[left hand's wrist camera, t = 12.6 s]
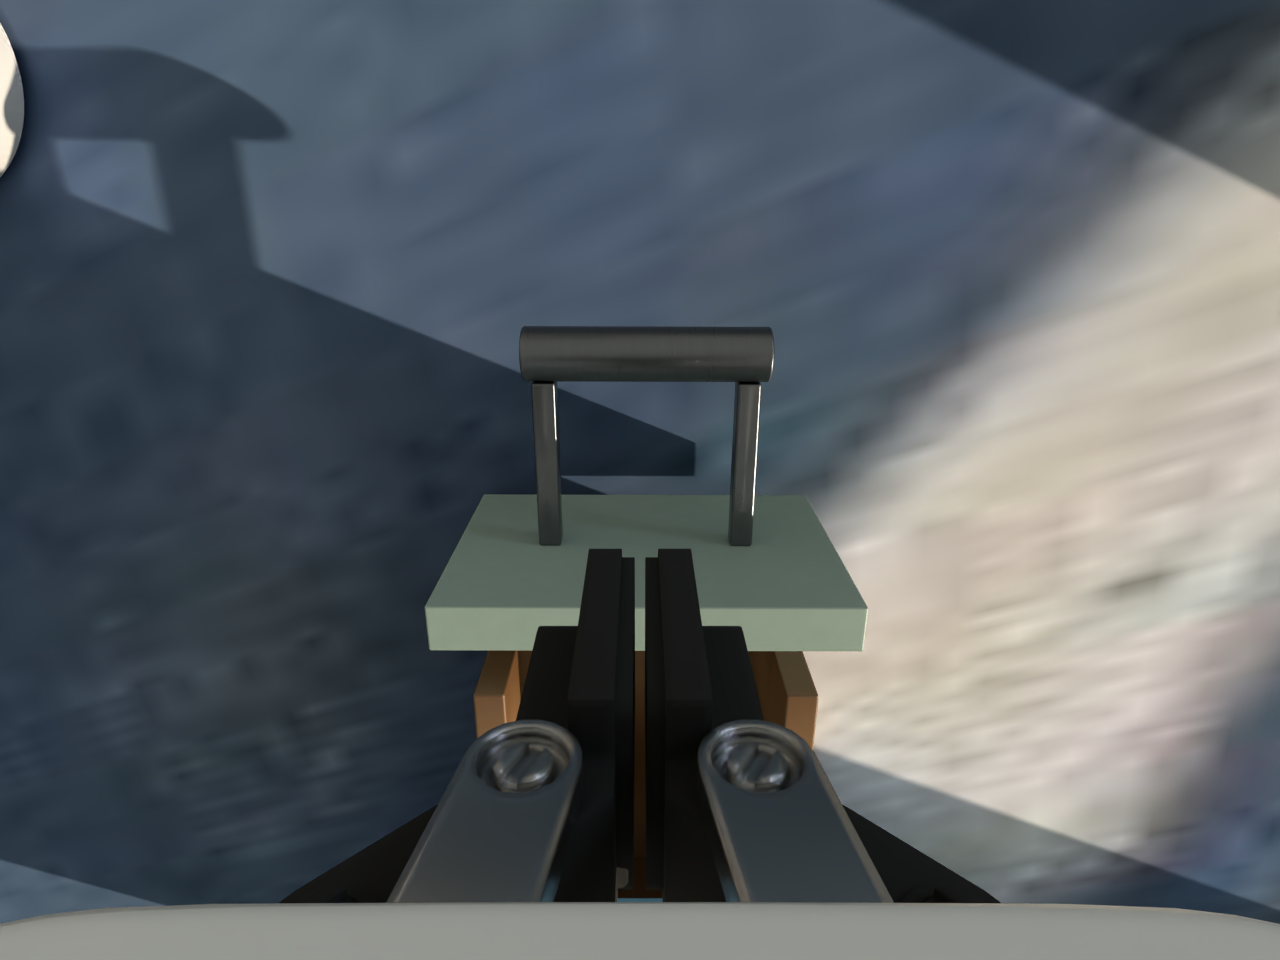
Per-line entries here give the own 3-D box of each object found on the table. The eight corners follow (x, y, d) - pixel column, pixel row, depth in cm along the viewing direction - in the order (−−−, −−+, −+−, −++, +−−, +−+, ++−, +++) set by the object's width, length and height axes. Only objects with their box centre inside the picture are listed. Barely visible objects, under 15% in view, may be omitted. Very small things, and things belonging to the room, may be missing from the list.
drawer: (469, 306, 22) (395, 354, 15) (822, 307, 22) (901, 356, 15) (510, 847, 29) (472, 1037, 23) (774, 848, 29) (814, 1038, 23)
